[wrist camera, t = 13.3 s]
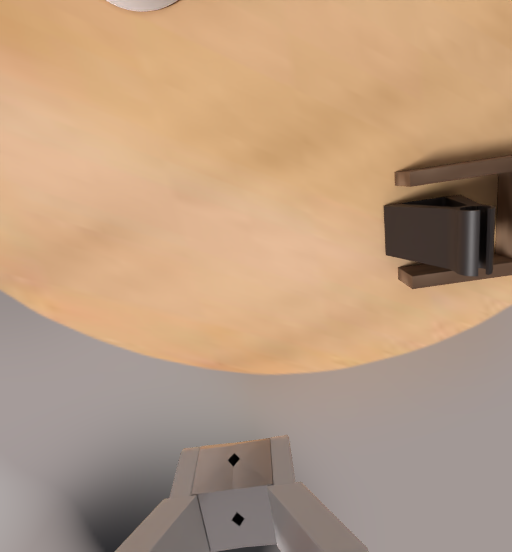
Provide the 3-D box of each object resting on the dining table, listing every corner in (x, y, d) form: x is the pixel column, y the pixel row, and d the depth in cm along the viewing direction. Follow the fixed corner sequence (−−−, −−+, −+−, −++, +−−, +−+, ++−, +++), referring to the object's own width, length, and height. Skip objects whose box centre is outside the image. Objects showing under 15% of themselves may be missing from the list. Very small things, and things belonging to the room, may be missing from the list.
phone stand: (458, 194, 42) (538, 201, 30) (457, 244, 43) (533, 269, 32) (382, 205, 42) (433, 216, 30) (384, 254, 44) (433, 282, 32)
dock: (394, 172, 41) (411, 171, 37) (512, 154, 40) (543, 152, 36) (398, 279, 44) (414, 290, 40) (506, 263, 44) (534, 273, 40)
